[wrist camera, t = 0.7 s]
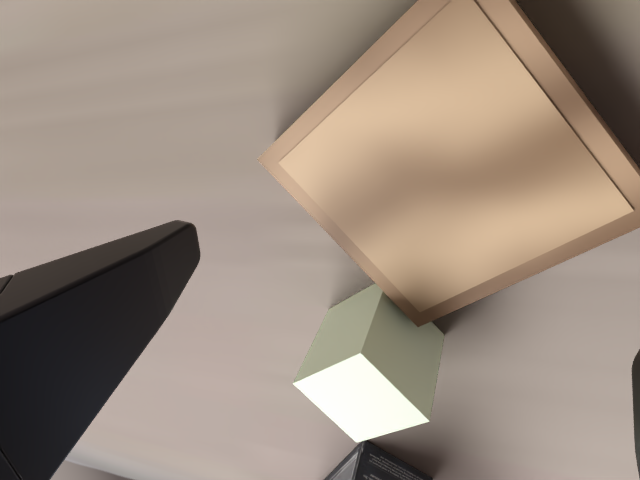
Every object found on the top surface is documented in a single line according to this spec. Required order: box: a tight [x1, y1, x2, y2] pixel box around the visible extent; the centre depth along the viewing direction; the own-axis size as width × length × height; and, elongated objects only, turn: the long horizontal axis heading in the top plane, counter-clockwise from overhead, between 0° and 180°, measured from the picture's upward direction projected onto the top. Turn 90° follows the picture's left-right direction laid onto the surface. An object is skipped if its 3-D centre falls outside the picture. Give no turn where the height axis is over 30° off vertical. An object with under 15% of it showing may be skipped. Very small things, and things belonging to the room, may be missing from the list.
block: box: [293, 283, 444, 443], centre depth 26 cm, size 5×5×6 cm
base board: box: [257, 0, 640, 327], centre depth 21 cm, size 12×12×2 cm
